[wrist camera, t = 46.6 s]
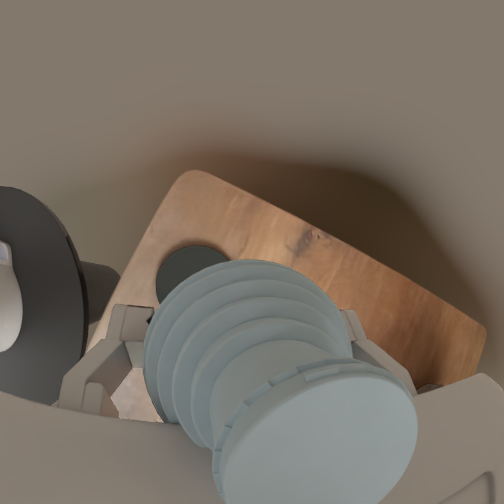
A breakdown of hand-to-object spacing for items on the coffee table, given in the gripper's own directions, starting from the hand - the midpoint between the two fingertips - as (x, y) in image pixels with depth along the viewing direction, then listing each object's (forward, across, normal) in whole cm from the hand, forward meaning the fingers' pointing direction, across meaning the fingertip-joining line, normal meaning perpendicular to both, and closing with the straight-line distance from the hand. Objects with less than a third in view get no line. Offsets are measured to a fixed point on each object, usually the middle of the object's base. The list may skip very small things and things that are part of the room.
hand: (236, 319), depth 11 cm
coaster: (+18, +1, +17) cm, 25 cm away
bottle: (+7, 0, +9) cm, 11 cm away
